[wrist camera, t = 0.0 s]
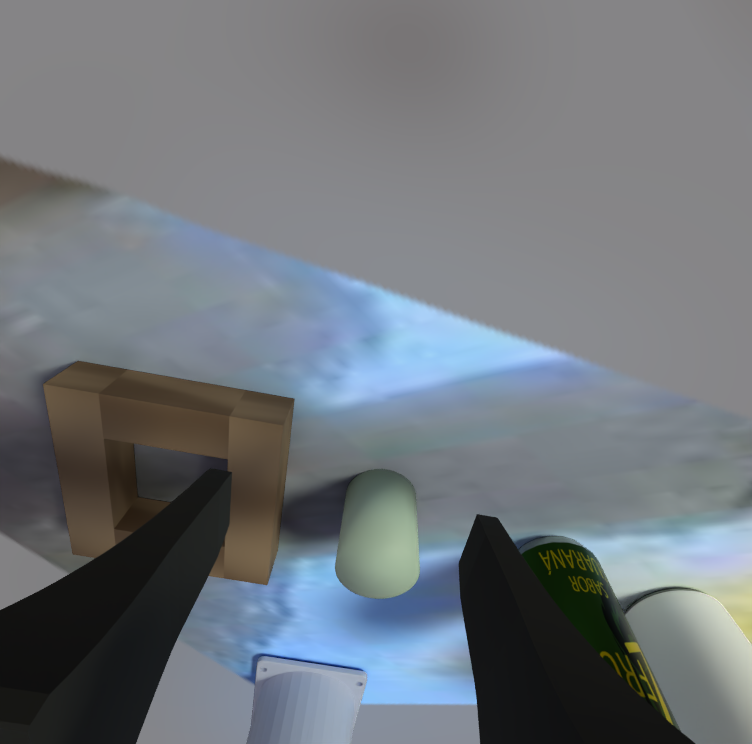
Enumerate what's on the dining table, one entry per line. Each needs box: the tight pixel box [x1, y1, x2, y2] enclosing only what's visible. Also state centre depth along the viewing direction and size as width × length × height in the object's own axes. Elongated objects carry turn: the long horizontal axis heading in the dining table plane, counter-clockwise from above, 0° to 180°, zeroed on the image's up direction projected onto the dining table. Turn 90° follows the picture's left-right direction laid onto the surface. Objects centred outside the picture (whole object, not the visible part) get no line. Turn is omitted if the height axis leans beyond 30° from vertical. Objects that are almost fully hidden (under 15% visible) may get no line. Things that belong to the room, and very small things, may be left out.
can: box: [624, 588, 752, 744], centre depth 24 cm, size 6×6×12 cm
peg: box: [335, 469, 420, 599], centre depth 24 cm, size 4×4×5 cm
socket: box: [43, 361, 294, 585], centre depth 24 cm, size 11×11×2 cm
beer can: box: [518, 536, 681, 731], centre depth 22 cm, size 5×5×12 cm
